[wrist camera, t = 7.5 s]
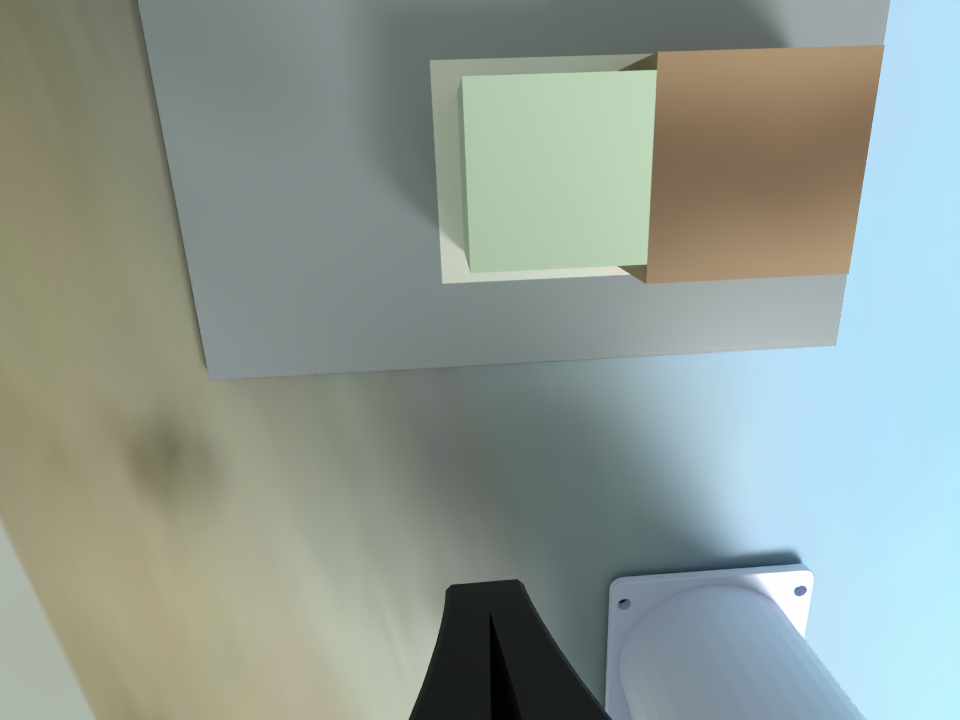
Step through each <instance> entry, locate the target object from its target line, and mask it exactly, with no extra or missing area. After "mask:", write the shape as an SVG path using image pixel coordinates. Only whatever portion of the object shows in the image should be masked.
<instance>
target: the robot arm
mask: <svg viewBox="0 0 960 720" xmlns="http://www.w3.org/2000/svg"><path fill="white" fill-rule="evenodd" d="M813 581H814V574H813V573H812V571H811V570H810V569H809V568H808V567H807V566H806V565H804V564H791V565H777V566H764V567H750V568H737V569H724V570H710V571H697V572H684V573H670V574H657V575H643V576H630V577H621V578H617V579H616V580H614V581H613V582H612V583H611V585H610V589H609V614H608V640H607V666H606V692H605V710H604V709H603V707H602V706H601V705H600V703H599V702H598V701H597V700H596V698H595V697H594V696H593V694H592V693H591V692H590V691H589V689H588V688H587V687H586V685H585V684H584V683H583V681H582V680H581V678H580V677H579V676H578V674H577V673H576V672H575V670H574V669H573V667H572V666H571V664H570V663H569V661H568V660H567V658H566V657H565V656H564V654H563V653H562V651H561V650H560V648H559V647H558V645H557V644H556V642H555V641H554V639H553V637H552V636H551V634H550V633H549V631H548V629H547V628H546V626H545V624H544V623H543V621H542V619H541V618H540V616H539V614H538V612H537V611H536V609H535V607H534V605H533V603H532V601H531V599H530V597H529V595H528V593H527V591H526V589H525V587H524V584H523V583H521V582H520V581H519V580H518V579H514V580H503V581H491V582H479V583H467V584H455V585H451V586H450V587H449V588H448V589H447V590H446V596H445V606H444V612H443V617H442V622H441V626H440V630H439V634H438V638H437V642H436V645H435V648H434V651H433V655H432V658H431V661H430V664H429V667H428V670H427V673H426V676H425V679H424V682H423V685H422V687H421V690H420V692H419V695H418V698H417V700H416V703H415V705H414V708H413V710H412V713H411V715H410V718H409V720H866V719H865V718H864V716H863V715H862V714H861V712H860V711H859V710H858V708H857V707H856V706H855V704H854V703H853V702H852V701H851V699H850V698H849V697H848V695H847V694H846V693H845V691H844V690H843V689H842V687H841V686H840V685H839V683H838V682H837V681H836V679H835V678H834V677H833V676H832V674H831V673H830V672H829V670H828V669H827V668H826V666H825V665H824V664H823V662H822V661H821V660H820V658H819V657H818V656H817V655H816V653H815V652H814V651H813V649H812V648H811V647H810V645H809V644H808V643H807V641H806V640H805V639H804V635H805V629H806V623H807V617H808V611H809V605H810V599H811V593H812V587H813ZM798 586H800V587H799V588H798V589H795V588H796V587H798ZM622 599H627V600H626V601H625V602H623V603H618V602H619V601H620V600H622Z"/></svg>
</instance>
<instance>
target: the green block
mask: <svg viewBox="0 0 960 720" xmlns="http://www.w3.org/2000/svg"><path fill="white" fill-rule="evenodd" d="M656 79H657V70H641V71H610V72H579V73H548V74H516V75H485V76H462V78H461V81H460V84H459V87H458V91H457V99H458V121H459V143H460V166H461V188H462V210H463V233H464V253H465V256H466V260H467V263H468V267H469V270H470V273H483V272H504V271H524V270H545V269H565V268H585V267H606V266H626V265H647V256H648V237H649V217H650V197H651V178H652V158H653V138H654V119H655V99H656Z"/></svg>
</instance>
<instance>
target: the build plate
mask: <svg viewBox="0 0 960 720" xmlns="http://www.w3.org/2000/svg"><path fill="white" fill-rule="evenodd" d="M889 5H890V0H138V6H139V11H140V16H141V22H142V27H143V32H144V37H145V43H146V48H147V53H148V59H149V64H150V69H151V74H152V80H153V85H154V90H155V95H156V101H157V106H158V111H159V117H160V122H161V127H162V132H163V138H164V143H165V148H166V154H167V159H168V164H169V169H170V175H171V180H172V185H173V191H174V196H175V201H176V206H177V212H178V217H179V222H180V228H181V233H182V238H183V243H184V249H185V254H186V259H187V265H188V270H189V275H190V280H191V286H192V291H193V296H194V302H195V307H196V312H197V317H198V323H199V328H200V333H201V339H202V344H203V349H204V354H205V360H206V365H207V370H208V376H209V381H210V380H228V379H246V378H264V377H282V376H300V375H318V374H335V373H353V372H371V371H389V370H407V369H425V368H443V367H461V366H479V365H497V364H515V363H533V362H551V361H569V360H586V359H604V358H622V357H640V356H658V355H676V354H694V353H712V352H730V351H748V350H766V349H784V348H802V347H820V346H836V341H837V335H838V328H839V322H840V316H841V309H842V303H843V297H844V290H845V284H846V278H847V274H833V275H813V276H794V277H774V278H754V279H735V280H715V281H695V282H675V283H656V284H645V283H644V282H642V281H641V280H639V279H637V278H636V277H634V276H632V275H631V274H629V273H627V272H626V271H624V270H623V269H621V268H619V267H618V266H606V267H585V268H565V269H545V270H524V271H504V272H483V273H470V270H469V267H468V263H467V260H466V256H465V253H464V233H463V210H462V188H461V166H460V143H459V121H458V99H457V91H458V87H459V84H460V81H461V78H462V76H485V75H516V74H548V73H579V72H610V71H618V70H620V69H622V68H624V67H627V66H629V65H631V64H633V63H635V62H637V61H639V60H642V59H644V58H646V57H648V56H650V55H652V54H654V53H657V52H668V51H701V50H733V49H766V48H798V47H831V46H863V45H883V43H884V37H885V30H886V24H887V18H888V11H889Z"/></svg>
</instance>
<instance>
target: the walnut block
mask: <svg viewBox="0 0 960 720" xmlns="http://www.w3.org/2000/svg"><path fill="white" fill-rule="evenodd" d="M883 51H884V45H863V46H831V47H798V48H766V49H733V50H701V51H668V52H657V53H654V54H652V55H650V56H648V57H646V58H644V59H642V60H639V61H637V62H635V63H633V64H631V65H629V66H627V67H624V68H622V69H620V70H618V71H641V70H657V79H656V99H655V119H654V138H653V158H652V178H651V197H650V217H649V237H648V256H647V265H626V266H618V267H619V268H621V269H623V270H624V271H626V272H627V273H629V274H631V275H632V276H634V277H636V278H637V279H639V280H641V281H642V282H644V283H645V284H656V283H675V282H695V281H715V280H735V279H754V278H774V277H794V276H813V275H833V274H849V268H850V261H851V255H852V249H853V242H854V236H855V230H856V223H857V217H858V210H859V204H860V198H861V191H862V185H863V179H864V172H865V166H866V160H867V153H868V147H869V141H870V134H871V128H872V121H873V115H874V109H875V102H876V96H877V90H878V83H879V77H880V71H881V64H882V58H883Z"/></svg>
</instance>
